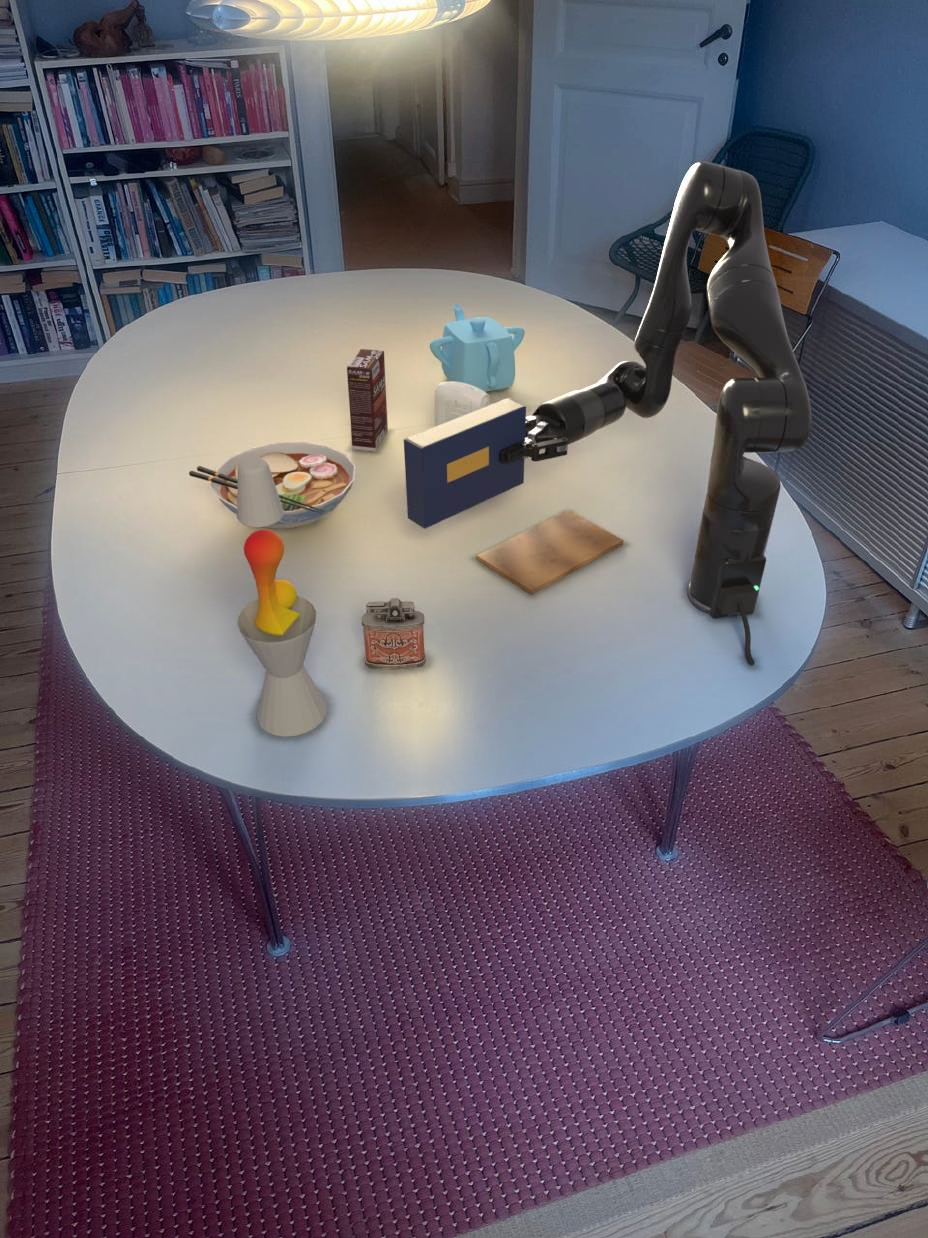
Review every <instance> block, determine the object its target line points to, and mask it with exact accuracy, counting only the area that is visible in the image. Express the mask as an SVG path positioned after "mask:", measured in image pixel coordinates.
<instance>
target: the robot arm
mask: <svg viewBox="0 0 928 1238" xmlns="http://www.w3.org/2000/svg"><path fill="white" fill-rule="evenodd" d="M761 194H762V193H761V189H760V186H759V182H758V181H757V179H756V178H755V176H754V175H752V174H750V173H749V172H746V171H744V170H741V169H736V168H733V167H730V166H725V165H721V164H718V163H714V162H711V161H705V160H703V161H697V162H696V163H694V164H692V166H691V167H690V168H689V170H688V171H687V172H686V174H685V176H684V178H683V180H682V182H681V184H680V187H679V190H678V192H677V196H676V198H675V201H674V206H673V210H672V213H671V217H670V222H669V226H668V228H667V233H666V237H665V240H664V245H663V248H662V253H661V257H660V261H659V266H658V269H657V274H656V278H655V282H654V286H653V290H652V292H651V295H650V298H649V301H648V304H647V307H646V309H645V311H644V315H643V317H642V320H641V322H640V325H639V328H638V331H637V333H636V336H635V338H634V342H633V348H634V350H635V352H636V353H637V355H638V356H639V357H640V358H641V360H642V361H643V362H644V365H645V366H644V365H642V364H640V363H639V362H637V361H633V360H624V361H621V362H619V363H617V364H616V365H615V366H613V368H612V369H611V370H610V371H609V372H608V373H607V374H606V375H604V376H603V377H602V378H601V379H600V380H599V381H598V382H596V383H593V384H592V385H588V386H586V387H584V388H581V389H578V390H577V389H576V390H572V391H570V392H568V393H565V394H563V395H560V396H557V397H555V398H553V399H550V400H548V401H545V402H544V403H541V404H540V405H538V406H537V408H536V409H535V411H534V412H533V413H532V414H530V415H526V428H525V439H524V440H522V441H521V444H519V443H515V444H513V445H511V446H508V447H506V448H504V449H501V450H500V452H499V462H500V463H502V464H506V463H508V462H512V461H514V460H517V459H519V458H523V459H524V460H525V459H528V458H530V459H531V461H532V462H541V461H545V460H550V459H555V458H560V457H563V456H567V455H568V450H569V445H571V444H574V443H575V442H578V441H580V440H582V439H584V438H587V437H589V436H590V435H593V434H594V433H595V432H596V431H598V430H601V429H604V428H605V427H607V426H610V425H612V424H614V423H616V422H617V421H619V420H620V419H621V418H622V417H623V416H624V414H625V413H626V408H627V409H628V410H629V411H631V412H632V413H634V414H635V415H637V416H638V417H640V418H643V419H649V418H652V417H654V416H655V417H656V415H658V414H659V413H660V412H661V411H662V410H663V409H664V407H665V406H666V404H667V403H668V400H669V397H670V393H671V388H672V381H673V374H674V367H675V361H676V360H675V359H676V354H677V351H678V349H679V346H680V344H681V341H682V340H683V337H684V334H685V331H686V330H687V327H688V325H689V321H690V318H691V314H692V305H693V304H692V302H693V301H692V293H691V287H690V286H691V285H690V281H689V273H688V264H687V263H688V262H687V258H688V257H687V256H688V248H689V244H690V240H691V238H692V235H693V233H694V231H696V232H699V233H700V232H701V233H705V234H709V235H712V236H717V237H720V238H723V240H725V241H726V242H727V244H728V248H729V249H728V250H727V251H726V253H725V254H723V255H722V257H721V258H720V259H719V260H718V262H717V263H716V265H714V268H713V269H712V270H711V273H710V275H709V277H708V279H707V282H706V288H705V289H706V290H705V291H706V292H705V293H706V295H705V296H706V301H707V306H708V312H709V317H710V318H709V319H710V322H711V325H712V327H713V330H714V333H715V334H716V335H717V336H718V337H719V339H720V340H721V341H722V342H723V344H725V345H726V347H728V348H729V349H730V350H731V351H732V352H733V353H734V354H736V355H737V356H738V357H739V358H740V359H742V361H744V362H745V363H746V364H747V365H748V366H750V367H751V368H752V370H754V372H755V373H756V374H757V375H758V377H736V378H735V377H734V378H731V379H729V380H728V381H727V382H726V383H725V384H724V386H723V387H722V390H721V391H720V394H719V395H720V396H719V399H718V404H717V411H716V419H715V429H714V435H713V436H714V438H713V443H712V444H713V445H712V451H711V458H710V465H709V472H708V473H709V474H708V482H707V488H706V493H705V499H704V504H703V509H702V515H701V520H700V526H699V532H698V536H697V542H696V548H695V553H694V559H693V565H692V569H691V570H692V571H691V577H690V580H689V584H688V589H687V597H688V599H689V601H690V602H691V604H692V605H694V607H696V608H697V609H699V610H701V611H702V612H705V613H707V614H709V615H710V616H711V618H712V619H723V618H729V617H730V618H731V617H739V616H740V617H741V621H742V625H743V630H744V651H745V652H744V653H745V657H746V660H747V662H748V664H749V665H750V666H753V665H755V664H756V662H755V659H754V657H753V655H752V651H751V645H752V644H751V642H752V640H751V639H752V635H751V628H750V623H749V619H748V615H753V614H755V610H756V605H757V601H758V597H759V594H760V590H761V585H762V580H763V577H764V572H765V567H766V563H767V557H766V556H765V555H766V551H767V547H768V541H769V538H770V534H771V530H772V526H773V521H774V517H775V512H776V508H777V504H778V500H779V496H780V492H781V487H782V486H781V479H780V477H779V476H778V474H777V473H776V472H775V471H774V470H773V469H772V468H771V467H769V466H767V465H765V464H763V463H761V462H758V461H756V460H753V459H750V458H748V457H746V456H745V455H744V454H745V453H746V454H747V453H748V454H749V453H751V454H752V453H753V454H754V453H755V454H757V453H758V454H759V453H760V454H761V453H762V454H763V453H764V454H765V453H767V454H768V453H769V454H770V453H772V454H773V453H789V452H794V451H797V450H799V449H801V448H802V447H803V446H804V445H805V444H806V443H807V441H808V439H809V438H810V434H811V429H812V425H813V424H812V423H813V417H812V415H813V414H812V413H813V412H812V403H811V399H810V398H811V397H810V393H809V390H808V387H807V384H806V381H805V378H804V376H803V373H802V370H801V368H800V366H799V362H798V360H797V358H796V357H797V356H796V355H795V352H794V349H793V347H792V345H791V344H792V343H791V341H790V338H789V335H788V331H787V327H786V323H785V318H784V314H783V308H782V304H781V303H782V302H781V297H780V293H779V289H778V285H777V280H776V277H775V275H774V271H773V267H772V265H771V260H770V254H769V251H768V250H769V249H768V244H767V241H766V235H765V227H764V215H763V205H762V203H763V202H762V196H761ZM542 450H544V452H542V453H540V451H542Z"/></svg>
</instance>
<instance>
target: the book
mask: <svg viewBox="0 0 928 1238" xmlns="http://www.w3.org/2000/svg"><path fill="white" fill-rule="evenodd" d="M526 416H527V406H526V405H525V404H522V403H520V402H518V401H515V400H514V399H512V398H509V397H507V398H504V399H502V400H499V401H496V402H494V403H490V405H489V406H486V407H483V408H481V409H478V410H476V411H473V412H471V413H468V414H466V415H463V416H461V417H458V418H456V419H453V420H451V421H448V422H446V423H443V424H440V425H438V426H435V425H434V426H433V427H431V428H428V429H425V430H423V431H420V432H418V433H416V434H415V433H414V434H413V435H410V436H408V437H406V438H403V451H404V452H403V453H404V455H403V456H404V472H405V473H404V475H405V491H406V494H405V495H406V507H407V508H406V509H407V510H406V513H407V519H408V520H410V521H411V522H412V523H415V524H416V525H417V526H419V527H421V528H422V529H424V530H426V529H427V528H430V527H432V526H434V525H436V524H439V523H440V522H442V521H445V520H447V519H449V518H452V517H454V516H456V515H458V514H461V513H462V512H464V511H466V510H469V509H471V508H473V507H475V506H477V505H479V504H482V503H483V502H486V501H488V500H490V499H492V498H494V497H497V496H499V495H501V494H503V493H506V492H508V491H510V490H511V489H514V488H516V487H518V486H521V485H523V484H524V482H525V480H524V479H525V459H523V458H519V459H517V460H514V461H512V462H508V463H506V464H502V463H500V462H499V452H500V450H501V449H504V448H506V447H508V446H511V445H513V444H515V443H519V444H521V441H522V440H524V439H525V428H526Z"/></svg>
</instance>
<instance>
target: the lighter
mask: <svg viewBox="0 0 928 1238" xmlns="http://www.w3.org/2000/svg"><path fill="white" fill-rule="evenodd" d="M360 620H361V626H362V627H363V637H364V638H363V639H364V651H365V655H364V665H365V666H366V668H367V669H371V670H377V671H378V670H379V671H404V670H405V671H406V670H413V669H419V668H422V667H424V666H425V665H426V662H427V656H426V653H425V638H424V637H425V636H424V635H425V633H424V624H425V615H424V613H423V612H422V611H419V610H415V602H414V601H412V600H407V601H406V600H404V601H402V600H401V599H400V598H397V597H393V598H391V599H390V600H389V601H385V600H381V601H380V600H379V601H378V600H376V601H375V600H374V601H373V600H371V601H367V602H366V603H365V612H364V613H363V614H362V615H361V618H360Z"/></svg>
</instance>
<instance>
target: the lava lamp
mask: <svg viewBox="0 0 928 1238" xmlns="http://www.w3.org/2000/svg"><path fill="white" fill-rule="evenodd" d="M283 515H284V510H283V507H282V504H281V501H280V498H279V495H278V492H277V489H276V486H275V483H274V480H273V477H272V474H271V471H270V468H269V465H268V463H267V462H266V461H265V460H264V459H261V458H256V457H255V458H248V459H245V460H243V461H242V462H240V464H239V465H238V487H237V515H236V518H237V520H238V522H239V524H241V525H243V526H246V527H249V528H261V529H257V530H255V531H252V532H251V533H250V534H249V535H248V536H247V537H246V539H245V541H244V544H243V554H244V556H245V559H246V561H247V563H248V566H249V567H250V570H251V572H252V575H253V578H254V581H255V586H256V590H257V599H256V600H254V601H252V602H250V603H249V604H247V605H246V606H245V607H244V608H242V610H241V611H240V613H239V615H238V616H237V623H236V624H237V627H238V630H239V632H240V634H241V636H242V637H243V639H244V640H245V642H246V643H247V645H248V646H249V647H250V649H251V650H252V652H253V653H254V654H255V656H256V657H257V659H258V660H259V662H260V663H261V665H262V666H263V668H264V669H265V674H264V679H263V683H262V688H261V693H260V696H259V700H258V701H259V702H258V705H257V706H258V707H257V712H256V720H257V723H258V725H259V726H260V727H261V729H263V731H265V732H266V733H269V734H271V735H273V736H277V737H283V738H286V737H297V736H300V735H304V734H307V733H309V732H311V731H313V730H314V729H317V727H318V726H319V725H320V724H321V723H322V722H323V721H324V719H325V718H326V715H327V704H326V701H325V699H324V697H323V696H322V694H321V692H320V690H319V689H318V687H317V686H316V684H315V682H314V681H313V678H312V676H311V675H310V673H309V672H308V669H307V668H306V667H305V665H304V662H305V659H306V656H307V653H308V650H309V649H308V648H309V645H310V642H311V638H312V635H313V632H314V628H315V626H316V620H317V610H316V609H315V607H314V604H312V602H310V601H308V600H307V599H306V598H304V597H300V596H299V595H298V592H297V589H296V587H295V585H294V584H293V583H292V582H290V581H289V580H286V579H282V578H281V579H276V575H277V573H278V572H277V571H278V568H279V565H280V563H281V562H282V560H283V558H284V555H285V543H284V541H283V539H282V537H281V536H280V535H279V534H278V533H276V532H275V531H273V530H271V529H266V528H264V527H266V526H269V525H272V524H274V523H276V522H278V521H279V520H280V519H281V518H282V517H283ZM262 528H263V529H262Z"/></svg>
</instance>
